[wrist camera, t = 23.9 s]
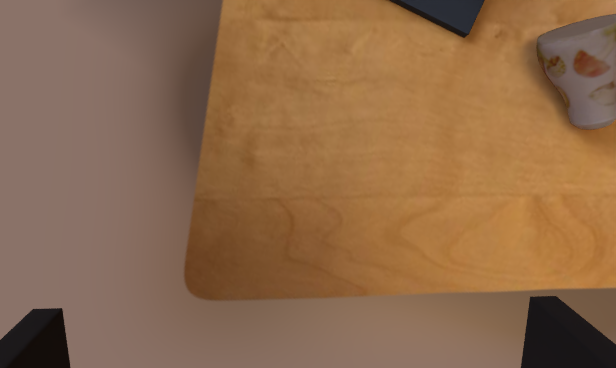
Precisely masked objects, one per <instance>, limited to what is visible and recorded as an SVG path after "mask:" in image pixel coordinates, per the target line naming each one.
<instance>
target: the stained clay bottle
mask: <svg viewBox="0 0 616 368" xmlns="http://www.w3.org/2000/svg"><path fill="white" fill-rule="evenodd" d="M537 56H538V60H539V62H540V65H541V67H542V69H543V70H544V72H545V73H546V75H547V76H548V78H549V79H550V80H551V82H552V83H553V84H554V86H555V87H556V88H557V89H558V91H559V92H560V93H561V95H562V97H563V98H564V101H565V103H566V107H567V110H568V115H569V120H570V123H571V124H573V125H575V126H576V127H578V128H580V129H587V130H591V129H599V128H603V127H606V126H608V125H610V124H612V123H613V122H614V121H615V119H616V14H612V15H606V16H600V17H595V18H591V19H587V20H583V21H580V22H576V23H572V24H569V25H566V26H563V27H560V28H557V29H554V30H552V31H549V32H547V33H545V34H543V35H541V36H540V37H539V38H538V40H537Z"/></svg>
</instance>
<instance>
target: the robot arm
mask: <svg viewBox="0 0 616 368" xmlns="http://www.w3.org/2000/svg"><path fill="white" fill-rule="evenodd" d="M0 368H70V361H69V354H68V347H67V340H66V333H65V325H64V319H63V311H62V308H59V309H58V308H57V309H33V310H32V311H31V312H30V313H29V314H27V315H26V316H25V317H24V318H23V319H22V320H21V321H20V322H19V323H18V324H17V325H16V326H15V327H14V328H13V329H11V330H10V331H9V332H8V333H7V334H6V335H5V336H4V337H3V338H2V339H1V340H0ZM521 368H616V344H614V343H613V342H612V341H611V340H609V339H608V338H607V337H605V336H604V335H603V334H602V333H601V332H600V331H598V330H597V329H596V328H595V327H593V326H592V325H591V324H590V323H588V322H587V321H586V320H585V319H584V318H582V317H581V316H580V315H579V314H577V313H576V312H575V311H574V310H572V309H571V308H570V307H569V306H567V305H566V304H565V303H564V302H562V301H561V300H560V299H559V298H558V297H556V296H545V297H544V296H542V297H530V302H529V310H528V319H527V326H526V333H525V341H524V348H523V356H522V364H521Z"/></svg>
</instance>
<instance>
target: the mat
mask: <svg viewBox="0 0 616 368" xmlns="http://www.w3.org/2000/svg"><path fill="white" fill-rule="evenodd" d="M390 1H392V2H394V3H396V4H398V5H400V6H402V7H404V8H406V9H408V10H410V11H412V12H414V13H416V14H418V15H420V16H422V17H424V18H426V19H428V20H430V21H432V22H434V23H436V24H438V25H440V26H442V27H444V28H446V29H448V30H450V31H452V32H454V33H456V34H458V35H460V36H462V37H466V36H467V35H468V34H469V32H470V30H471V28H472V26H473V24H474V22H475V20H476V17H477V15H478V13H479V11H480V9H481V7H482V5H483V2H484V0H390Z"/></svg>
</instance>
